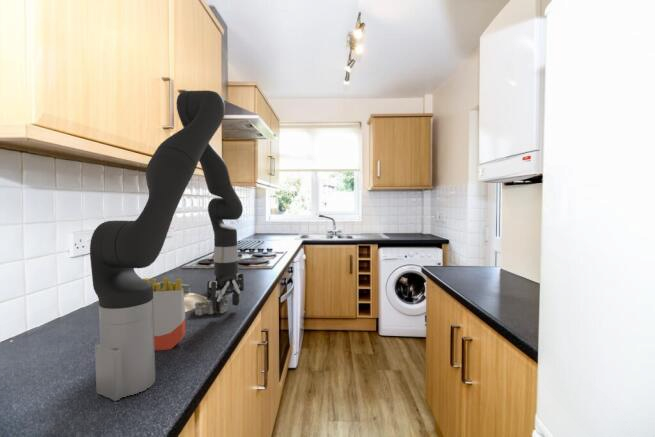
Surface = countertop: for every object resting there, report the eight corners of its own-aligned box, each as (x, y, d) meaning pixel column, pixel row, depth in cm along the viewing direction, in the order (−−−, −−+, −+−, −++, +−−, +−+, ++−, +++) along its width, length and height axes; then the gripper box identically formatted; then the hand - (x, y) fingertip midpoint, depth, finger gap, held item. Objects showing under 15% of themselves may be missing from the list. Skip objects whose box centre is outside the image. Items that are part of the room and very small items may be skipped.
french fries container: (141, 344, 85) (139, 275, 84) (186, 340, 87) (184, 273, 86) (134, 352, 80) (133, 279, 79) (182, 348, 83) (181, 277, 82)
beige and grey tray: (171, 321, 103) (171, 305, 103) (115, 308, 116) (115, 293, 115) (218, 303, 122) (218, 289, 121) (165, 293, 134) (165, 281, 134)
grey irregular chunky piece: (228, 307, 116) (228, 295, 115) (227, 314, 108) (227, 302, 108) (196, 309, 113) (196, 297, 113) (192, 316, 106) (192, 304, 105)
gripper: (218, 264, 98) (219, 317, 99) (249, 257, 111) (249, 304, 112) (200, 262, 101) (201, 313, 102) (232, 255, 114) (232, 301, 115)
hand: (226, 308), depth 107 cm, fingers open, 8 cm apart
